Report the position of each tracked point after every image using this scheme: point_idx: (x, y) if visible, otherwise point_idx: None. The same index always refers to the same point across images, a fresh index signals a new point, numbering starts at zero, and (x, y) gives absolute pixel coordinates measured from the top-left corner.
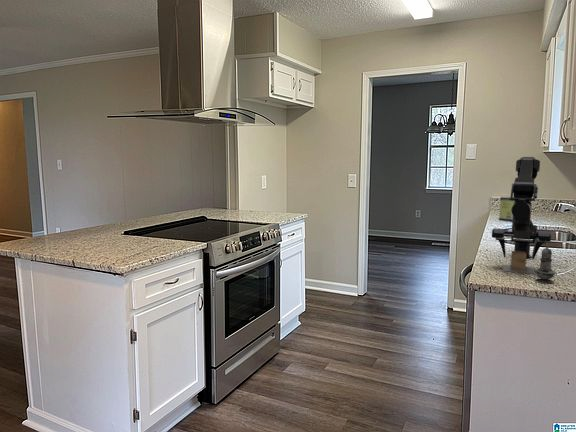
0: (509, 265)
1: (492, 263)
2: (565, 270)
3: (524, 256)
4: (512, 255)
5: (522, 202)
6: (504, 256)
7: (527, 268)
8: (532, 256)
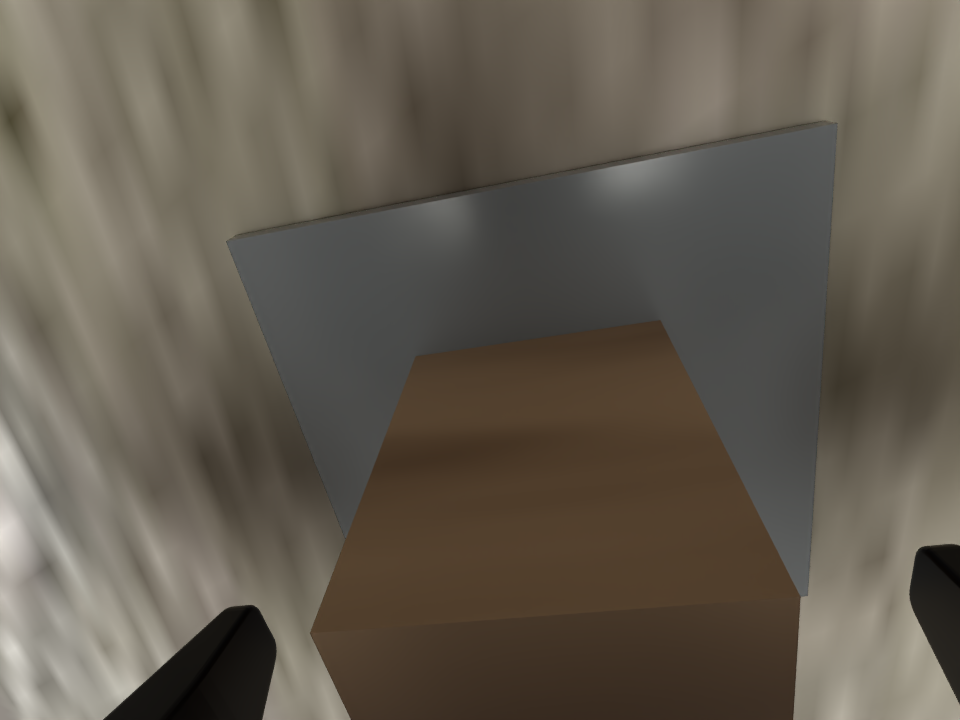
0: None
1: None
2: (46, 676)
3: (385, 561)
4: (758, 530)
5: None
6: (953, 551)
7: None
8: (237, 686)
